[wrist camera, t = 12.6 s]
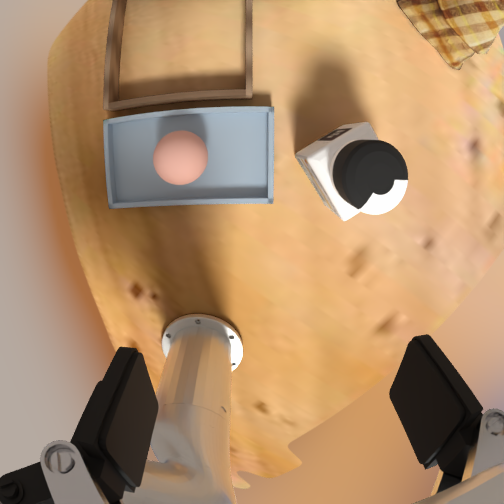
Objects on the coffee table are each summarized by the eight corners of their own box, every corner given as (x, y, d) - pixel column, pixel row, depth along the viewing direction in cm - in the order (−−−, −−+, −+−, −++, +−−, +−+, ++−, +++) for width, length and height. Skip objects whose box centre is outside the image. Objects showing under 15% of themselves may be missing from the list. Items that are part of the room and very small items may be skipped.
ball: (211, 180, 33) (204, 187, 28) (163, 182, 33) (146, 190, 28) (211, 130, 31) (203, 127, 26) (161, 133, 31) (144, 132, 26)
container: (293, 154, 33) (320, 161, 21) (344, 123, 32) (394, 117, 20) (325, 206, 36) (363, 240, 24) (373, 175, 34) (429, 195, 22)
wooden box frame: (251, 99, 31) (252, 95, 28) (113, 111, 30) (103, 109, 27) (251, -22, 24) (252, -32, 21) (123, -6, 24) (115, -14, 21)
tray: (271, 199, 35) (273, 203, 33) (115, 204, 35) (109, 208, 33) (272, 109, 31) (274, 106, 29) (110, 120, 31) (103, 120, 29)
